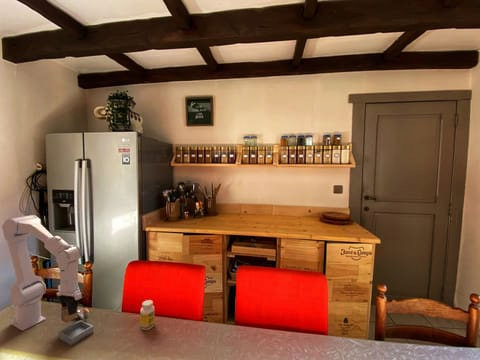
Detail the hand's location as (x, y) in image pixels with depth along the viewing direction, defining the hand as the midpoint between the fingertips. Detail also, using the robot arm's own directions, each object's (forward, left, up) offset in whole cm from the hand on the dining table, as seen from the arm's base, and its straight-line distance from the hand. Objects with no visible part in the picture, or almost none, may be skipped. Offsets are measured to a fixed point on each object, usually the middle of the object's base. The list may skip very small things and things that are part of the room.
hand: (69, 312), depth 92 cm
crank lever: (-2, +6, -7) cm, 9 cm away
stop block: (0, 0, -3) cm, 3 cm away
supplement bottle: (+26, +15, -7) cm, 31 cm away
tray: (+6, -1, -7) cm, 9 cm away
